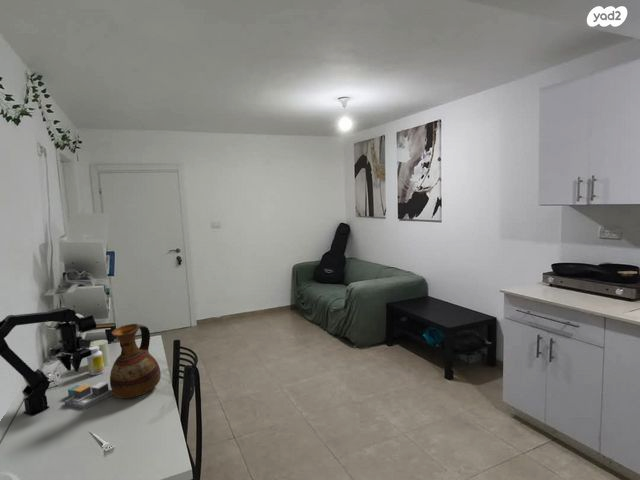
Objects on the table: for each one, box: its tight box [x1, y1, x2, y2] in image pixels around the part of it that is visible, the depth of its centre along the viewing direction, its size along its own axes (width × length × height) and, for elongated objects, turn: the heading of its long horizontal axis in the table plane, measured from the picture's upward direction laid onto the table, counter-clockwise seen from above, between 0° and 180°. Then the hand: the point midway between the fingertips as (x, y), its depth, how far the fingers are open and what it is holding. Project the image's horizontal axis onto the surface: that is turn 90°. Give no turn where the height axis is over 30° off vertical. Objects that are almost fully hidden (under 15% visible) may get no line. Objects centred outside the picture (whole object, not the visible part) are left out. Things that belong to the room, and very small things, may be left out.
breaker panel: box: [64, 386, 114, 410], centre depth 163 cm, size 13×12×2 cm
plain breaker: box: [91, 381, 110, 396], centre depth 164 cm, size 4×4×3 cm
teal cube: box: [67, 384, 82, 398], centre depth 167 cm, size 4×4×4 cm
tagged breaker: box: [74, 384, 91, 399], centre depth 163 cm, size 4×4×3 cm
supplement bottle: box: [86, 346, 105, 376], centre depth 189 cm, size 7×7×13 cm
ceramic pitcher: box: [109, 323, 162, 399], centre depth 167 cm, size 20×20×30 cm
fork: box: [92, 433, 116, 452], centre depth 133 cm, size 3×20×2 cm, turn 51°
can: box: [87, 339, 111, 367], centre depth 199 cm, size 9×9×12 cm
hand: (73, 371), depth 166 cm, fingers open, 5 cm apart
